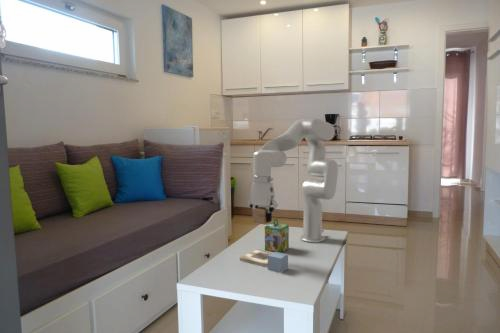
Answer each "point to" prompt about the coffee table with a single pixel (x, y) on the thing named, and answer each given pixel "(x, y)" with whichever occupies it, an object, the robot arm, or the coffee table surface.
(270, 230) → the chalk box
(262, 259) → the tan square board
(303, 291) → the coffee table surface
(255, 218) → the walnut cube
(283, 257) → the slate cube
